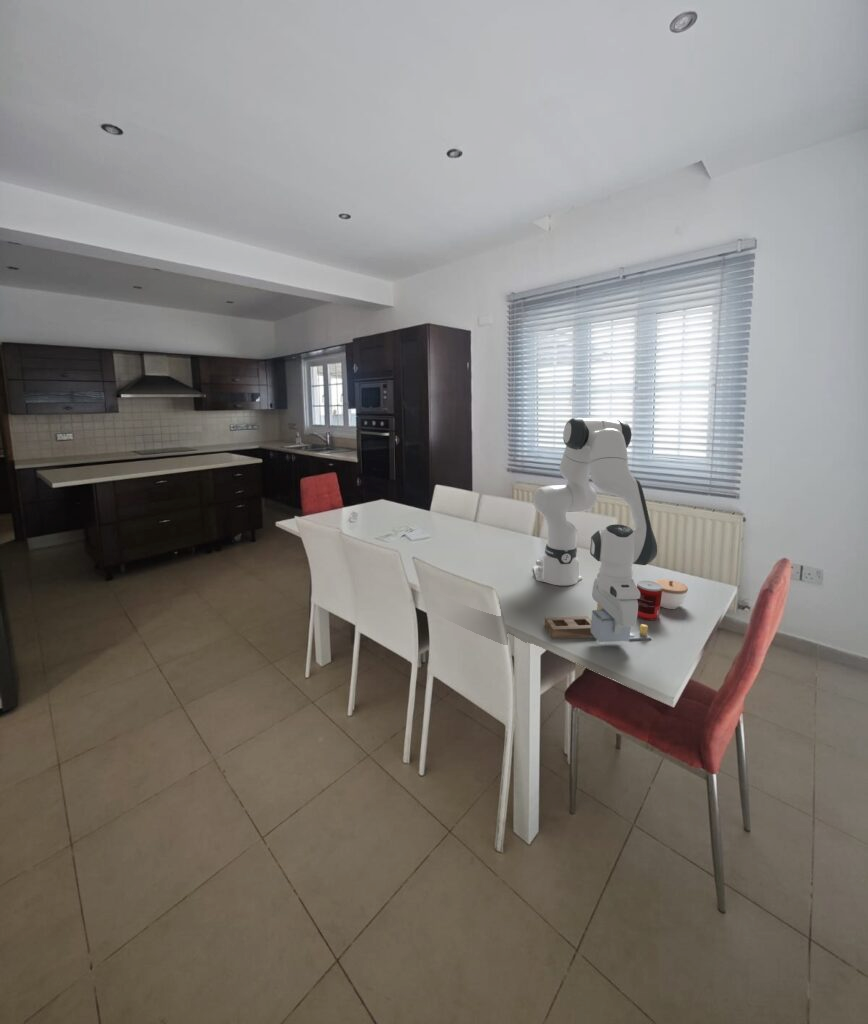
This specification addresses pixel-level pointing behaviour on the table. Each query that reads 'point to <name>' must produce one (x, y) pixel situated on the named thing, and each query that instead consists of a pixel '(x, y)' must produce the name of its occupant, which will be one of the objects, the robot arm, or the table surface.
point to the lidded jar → (672, 593)
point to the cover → (607, 628)
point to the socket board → (568, 627)
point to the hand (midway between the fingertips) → (610, 626)
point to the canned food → (649, 600)
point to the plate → (637, 637)
